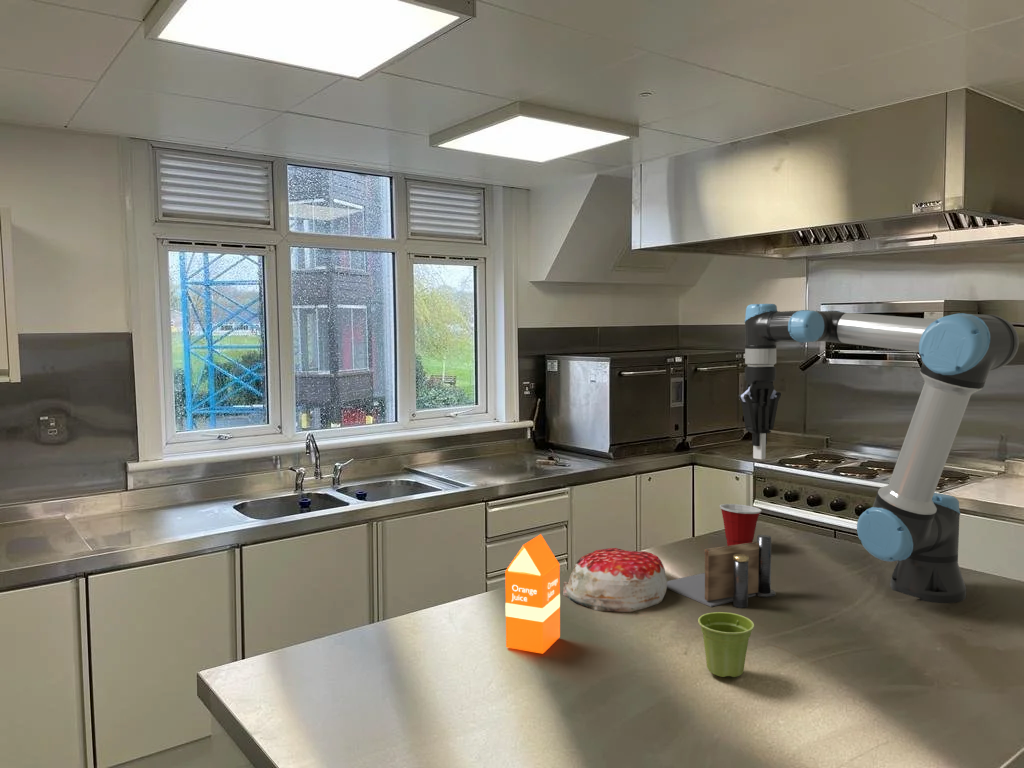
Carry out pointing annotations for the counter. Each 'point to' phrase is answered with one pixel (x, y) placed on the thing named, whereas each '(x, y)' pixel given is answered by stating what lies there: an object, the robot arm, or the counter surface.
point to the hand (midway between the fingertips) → (759, 458)
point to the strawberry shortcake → (617, 580)
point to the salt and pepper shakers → (763, 574)
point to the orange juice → (533, 598)
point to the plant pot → (725, 642)
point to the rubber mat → (696, 589)
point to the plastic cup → (739, 523)
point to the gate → (729, 569)
